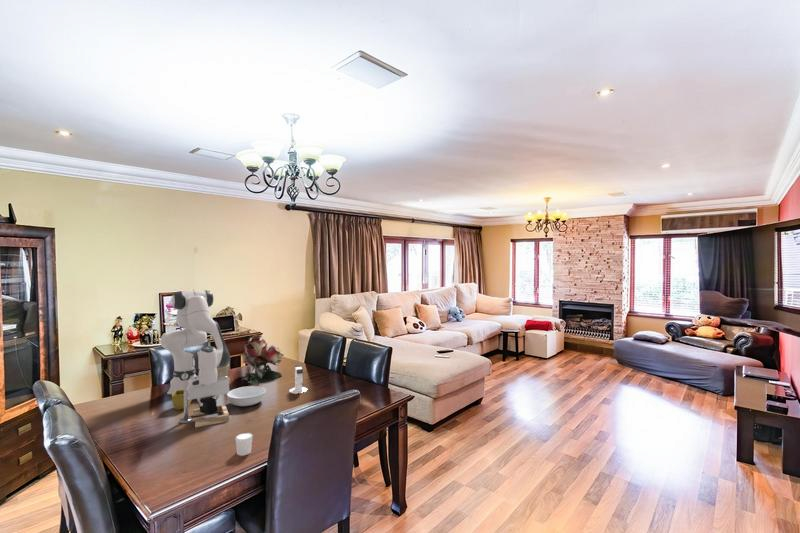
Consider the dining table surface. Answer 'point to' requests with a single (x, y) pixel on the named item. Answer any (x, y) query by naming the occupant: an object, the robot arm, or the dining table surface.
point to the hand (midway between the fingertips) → (208, 404)
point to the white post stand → (298, 381)
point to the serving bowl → (246, 395)
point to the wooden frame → (211, 419)
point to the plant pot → (222, 371)
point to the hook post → (186, 410)
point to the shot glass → (243, 443)
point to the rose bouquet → (261, 360)
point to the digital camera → (208, 405)
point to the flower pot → (179, 399)
